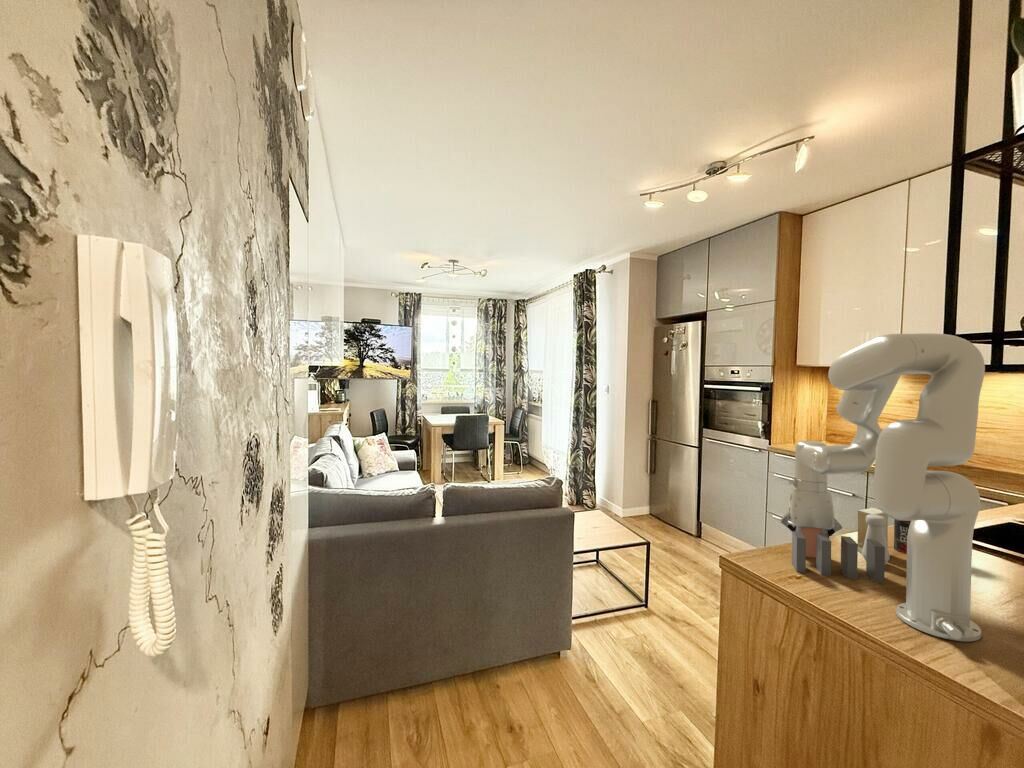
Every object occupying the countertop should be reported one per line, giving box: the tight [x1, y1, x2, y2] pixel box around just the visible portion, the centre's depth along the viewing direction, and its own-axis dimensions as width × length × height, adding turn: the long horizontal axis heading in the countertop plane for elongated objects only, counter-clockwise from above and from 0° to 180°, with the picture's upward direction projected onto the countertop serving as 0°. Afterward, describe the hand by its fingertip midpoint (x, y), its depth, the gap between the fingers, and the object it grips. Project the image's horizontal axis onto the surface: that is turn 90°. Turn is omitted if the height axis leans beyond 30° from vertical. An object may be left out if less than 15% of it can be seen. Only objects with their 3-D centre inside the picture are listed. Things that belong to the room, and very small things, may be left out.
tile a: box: [791, 531, 807, 574], centre depth 116 cm, size 5×2×9 cm, turn 159°
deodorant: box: [893, 519, 911, 555], centre depth 127 cm, size 6×6×15 cm
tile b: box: [815, 534, 832, 577], centre depth 115 cm, size 5×2×9 cm, turn 160°
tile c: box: [840, 535, 858, 580], centre depth 113 cm, size 5×2×9 cm, turn 160°
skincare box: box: [857, 507, 889, 554], centre depth 126 cm, size 6×4×12 cm
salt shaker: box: [861, 514, 891, 566], centre depth 119 cm, size 6×6×13 cm
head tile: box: [801, 527, 822, 559], centre depth 124 cm, size 5×2×9 cm, turn 69°
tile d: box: [865, 539, 886, 584], centre depth 111 cm, size 5×2×9 cm, turn 160°
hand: (810, 549), depth 124 cm, fingers closed on head tile, 4 cm apart
